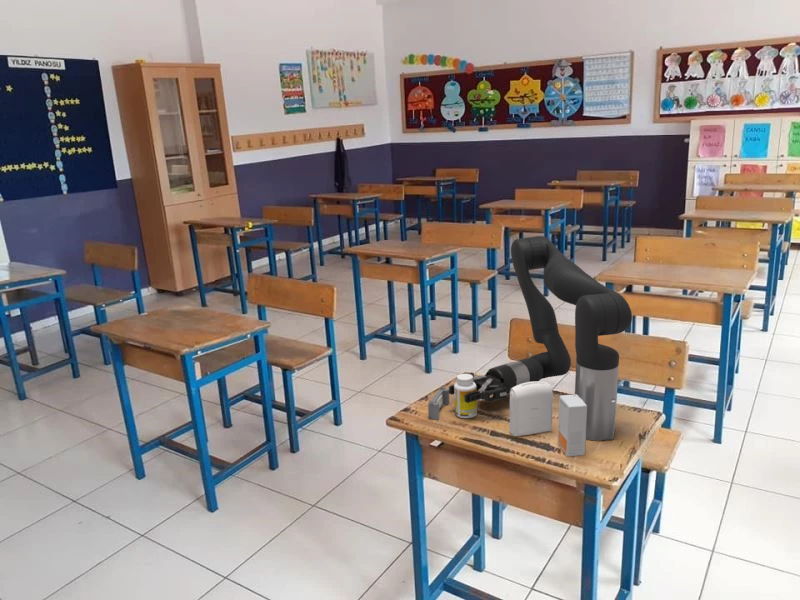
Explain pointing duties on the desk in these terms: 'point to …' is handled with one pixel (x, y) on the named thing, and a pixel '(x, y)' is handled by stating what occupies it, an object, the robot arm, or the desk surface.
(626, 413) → the desk surface
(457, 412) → the supplement bottle
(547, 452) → the desk surface
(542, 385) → the photo printer
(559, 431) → the skincare box
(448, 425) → the desk surface
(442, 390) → the grey bridge block
